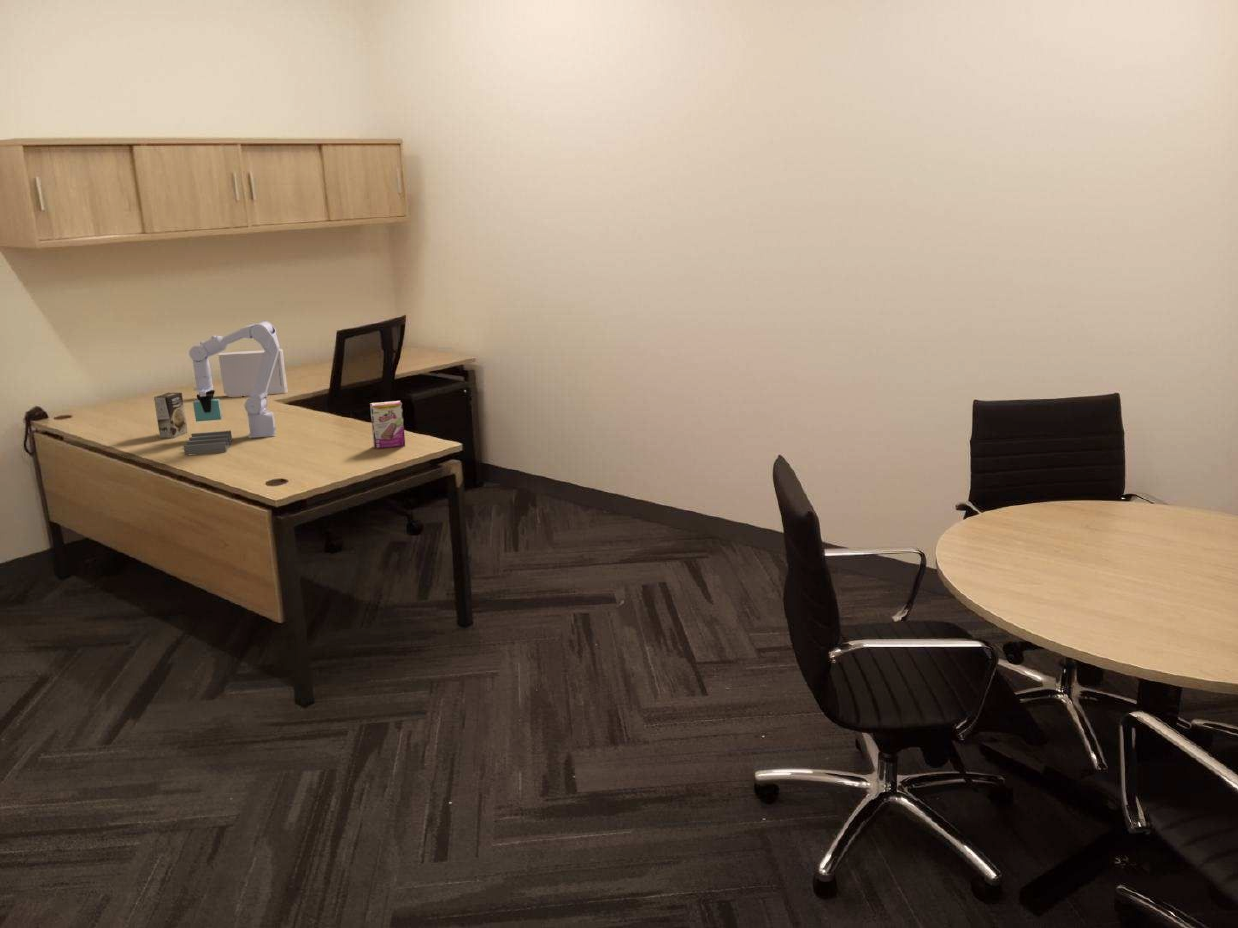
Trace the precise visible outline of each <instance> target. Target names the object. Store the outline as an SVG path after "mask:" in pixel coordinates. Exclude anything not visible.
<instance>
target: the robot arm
mask: <svg viewBox="0 0 1238 928" xmlns="http://www.w3.org/2000/svg"><path fill="white" fill-rule="evenodd" d="M244 338H246V339H250V340H251V339H254V341H256V342H257V343H258V344H259V345H260V346H261V347H262V349H263V350H265V351H264V354H263V358H262V361H261V365H260V368H259V371H258V375H257V378H256V381H255V385H254V388H253V390H252V392H251V394H250V396H248V399H246V401H245V402H244V410H245V411H246V414H247V419H248V428H249V435H248V439H253V438H255V439H256V438H266V437H267V438H268V437H274V436H276V431H277V428H276V423H275V415H274V412H273V411H268V410H267V408H266V407H267V405H268V395H267V394H268V392H267V389H268V386H269V382H270V379H271V376H272V372H273V369H274V366H275V362H276V359H277V356H278V352H279V349H281V348H280V347H281V346H280V342H279V339H278V336H277V329H276V328H275V327H274V325H273V324H272V323H271V322H269V321H267V320H262V321H260V322H259V323H252V324H249V325H246V326H244V327H242V328H239V329H238V330H236V331H234V332H232V333H229V334H227V335H225V336H222V335H211V337H210V338H209V339H207V340H205V341H203V340H202V341H200V342H199V343H198V344H197V345H193V346H192V347H191V348H190V349H189V352H188V354H189V358H190V359H191V360H192V366H193V373H194V379H195V387H193V391H196V392H198V394H196V398H197V400H199V401H200V403H201V405H202V407H203V410H204V412H205V413H206V412H211V399H214V395H215V392H216V391H215V390H216V389H215V390H214V386H213V377H212V371H211V365H210V360H209V357H211V356H214V355H217V354H218V353H222V352H224V351H225V350H226V349H227V347H228V345H229V344H233V343H235V342H237V341H239V340H242V339H244Z"/></svg>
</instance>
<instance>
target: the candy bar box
mask: <svg viewBox="0 0 1238 928" xmlns="http://www.w3.org/2000/svg"><path fill="white" fill-rule="evenodd" d="M369 406H370V407H369V408H370V417H371V428H372V429H371V431H372V443H373V447H374V449H375V450H379V449H388V448H389V449H390V448H398V447H405V446H406V439H405V437H406V436H405V425H404V424H405V423H404V413H403V403H402V402H401V400H392V401H391V400H390V401H384V402H383V401H381V402H371V403H369Z"/></svg>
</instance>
